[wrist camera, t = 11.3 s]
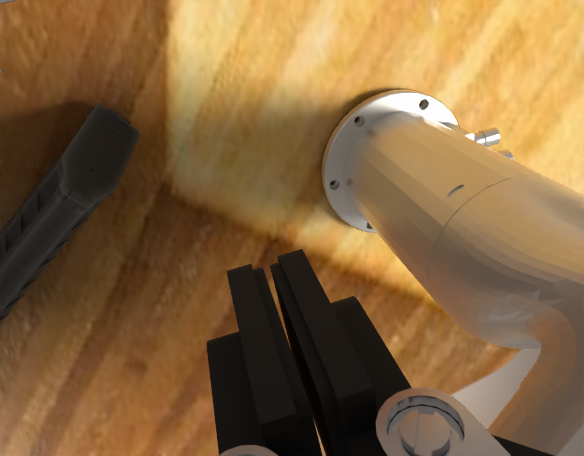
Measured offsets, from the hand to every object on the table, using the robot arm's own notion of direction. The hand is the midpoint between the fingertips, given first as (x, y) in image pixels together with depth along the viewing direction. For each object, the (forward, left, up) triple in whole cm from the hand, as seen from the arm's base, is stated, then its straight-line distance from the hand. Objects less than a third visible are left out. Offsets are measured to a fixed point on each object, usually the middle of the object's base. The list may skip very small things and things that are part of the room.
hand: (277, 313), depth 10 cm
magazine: (+19, +10, -28) cm, 35 cm away
